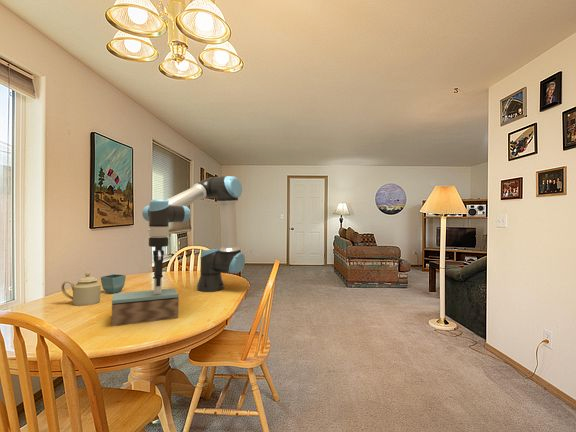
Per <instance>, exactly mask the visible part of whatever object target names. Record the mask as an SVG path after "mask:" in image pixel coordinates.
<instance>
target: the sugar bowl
mask: <svg viewBox="0 0 576 432" xmlns="http://www.w3.org/2000/svg"><path fill="white" fill-rule="evenodd" d="M84 275H85V276H84V277H81V278H79V279H77V280H76V282H77V283H76V284H75V285H74V282H73V281H71V280H66V281H64V282H62V284H61V292H62V294H63V295H64V296H65V297H66V298H69V299H70V300H72V305H73V306H78V307H79V306H80V307H82V306H83V307H84V306H91V305H95V304H98V303H100V301H101V294H102V293H101V290H102V283H101V282H98V278H96V277H94V276H90V275H91V273H90V271H89V270H87V271H86V272H85V273H84ZM66 284H70V287H71V290H72V296H71V295H70V294H69V293H67V291H66V289H65V285H66Z"/></svg>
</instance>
